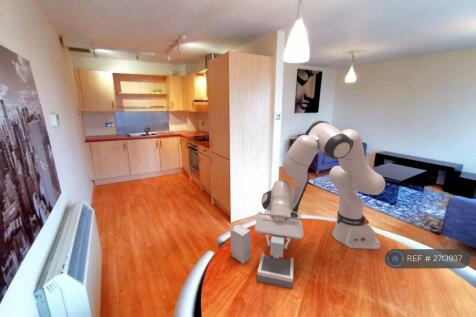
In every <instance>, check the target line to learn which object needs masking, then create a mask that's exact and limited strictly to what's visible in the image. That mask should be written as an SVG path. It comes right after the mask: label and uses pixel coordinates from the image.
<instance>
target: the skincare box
mask: <svg viewBox="0 0 476 317" xmlns="http://www.w3.org/2000/svg"><path fill="white" fill-rule="evenodd" d="M229 230H230V232H229V234H230V248H231V249H230V250H231V253H230V254H231V257H233V258H234V259H236V260H237V261H239V262H240V263H242V264H243V265H244V264H245V263H247V262H248V261H250V260H251V259H252V239H251V238H252V234H251V229H249V228H247V227H245V226H243V225H241V224H237V225H234V226H233V227H231V228H230V229H229Z"/></svg>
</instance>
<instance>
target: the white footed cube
mask: <svg viewBox="0 0 476 317" xmlns="http://www.w3.org/2000/svg"><path fill="white" fill-rule="evenodd" d="M270 241H271V247H270V250H269V257H270V258H271V259H273V257H274V258H279V260H281V261H282V259H284V258H283V257H284V256H283V255H284V249H283V246H284V244H285V238H284V237H282V236H276V235H271V239H270Z"/></svg>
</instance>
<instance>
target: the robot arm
mask: <svg viewBox="0 0 476 317" xmlns="http://www.w3.org/2000/svg"><path fill="white" fill-rule="evenodd" d="M320 152H323V153H324V154H325V155H326V156H327V157H329V158H331V159H332V160H338V164H339V165H334V166H333V167H332V168H331V169H330V170H329V174H328V177H329V181H330V182H331V183H332V184H333V186H334V187H335V189H336V191H337V193H338V197H339V201H338V202H339V204H338V206H339V207H338V210H337V214H336V219H335V220H336V224H335V227H334V229H333V231H332V233H331V234H332V235H331V236H333V238H334V239H335V240H336V241H338V242H339V243H340V244H343V245H345V246H346V247H347V248H349V249H366V250H380V249H381V242H380V241H379V238H378V237H377V235H376V232H375V230H374V229H373V228H372V226H370V225H369V223H370V221H369V220H368V219H367V218H366V216H365V215H364V214H363V213H364V206H365V204H364V201H363V199H362V197H360V196H359V195H358V194H357V193H356V192H358V193H362V194H365V195H366V194H367V195H374V196H378V195H380V194H381V193H383V192H384V190H385V187H386V180H385V177H384V176H383V175H381V174H379V173H378V172H376V170H374V169H373V168H372V167H371V166H370V165H369V164H368V162H367V160H366V155H365V149H364V145H363V141H362V138H361V135H360V133H359V132H358V131H357V130H355V129H352V128H347V129H342V130H341V129H339V128H338V127H335V126H334V125H332V124H330V123H329V122H328V121H326V120H325V121H324V120H317V121H314V122H313V123H312V124H310V126H309V127H308V129H307V130H306V132H305V134H301V135H299V136H298V137H297V138H296V139H295V141H294V142H293V143H292V145H291V146H290V147H289V150H287V153H286V154H285V156H284V159H283V161H282V168H283V171H284V172H285V174H286V175H287V176H288V177H289V178H291V179H292V180H293V181H294V182H295V185H294V187H293V189H292V184H291V183H290V182H289V181H286V180H282V179H279V180H275V181H274V183H273V186H272V187H271V189H270V190H268V191H266V192H265V193H263V194H262V197H261V205H262V208H263V209H264V210H266V211H267V212H264V211H260V212H258V213H256V216H255V225H254V231H255V233H256V234H259V235H260V234H261V235H265V237H266V241H267V247H270V248H271V240H269V238H270V236H272V235H276V236H282V237H284V239H286V243H284V246H283V250H287V249H288V245H289V244H290V242H291V240H297V241H301V240H303V238H304V226H303V222H302V220H301V219H302V215H301V214H300V213H298V212H299V207H300V205H301V202H302V199H303V196H304V194H305V191H306V189H307V186H308V184H309V180H310V173H308V170H309V168H310V165H311V164H312V162H313V160H314V158H315V156H316V155H317V154H319V153H320ZM292 190H293V191H292Z"/></svg>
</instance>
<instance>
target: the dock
mask: <svg viewBox="0 0 476 317" xmlns="http://www.w3.org/2000/svg"><path fill="white" fill-rule="evenodd" d="M256 273H257V274H256V275H257V277H256V279H257V280H256V281H257V282H260V283H264V284H270V285H274V286H279V287H284V288H287V289H288V288H289V289H293V286H294V283H293V282H294V257H290V260H289V259H284V258H283V259H282V261H281V260H279V258H275V257H273V259H271V258H270V256H269V255H265V252H261V255H260V260H259V263H258V268H257V272H256Z"/></svg>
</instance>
